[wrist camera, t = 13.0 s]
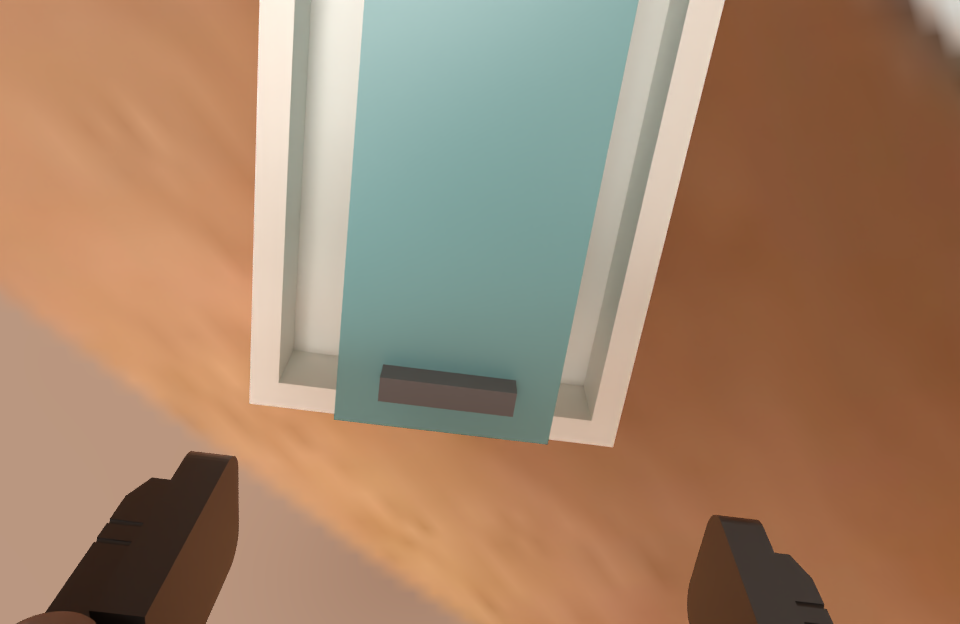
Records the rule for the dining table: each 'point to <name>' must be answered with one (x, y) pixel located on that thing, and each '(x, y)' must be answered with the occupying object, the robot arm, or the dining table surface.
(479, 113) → the teal box
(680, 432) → the dining table surface
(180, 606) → the robot arm
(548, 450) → the dining table surface
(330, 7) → the tray
